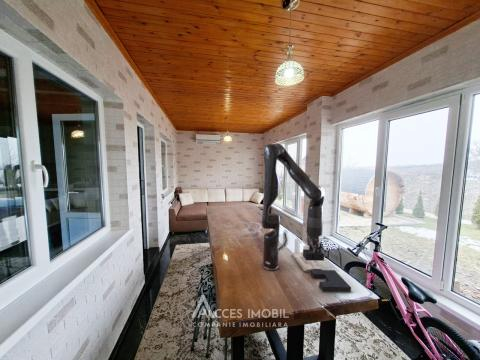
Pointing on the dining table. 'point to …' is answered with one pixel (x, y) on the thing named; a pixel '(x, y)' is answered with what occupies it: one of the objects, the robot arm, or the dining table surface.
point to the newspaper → (306, 263)
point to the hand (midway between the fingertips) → (313, 257)
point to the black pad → (309, 255)
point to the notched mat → (331, 281)
